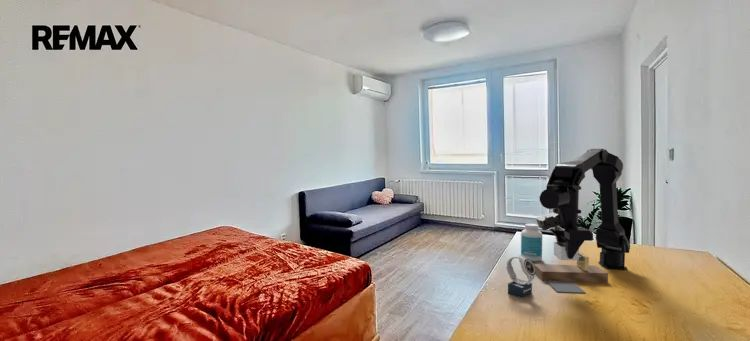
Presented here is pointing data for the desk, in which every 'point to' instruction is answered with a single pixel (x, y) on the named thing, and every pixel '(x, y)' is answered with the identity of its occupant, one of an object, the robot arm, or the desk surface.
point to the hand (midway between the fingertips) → (566, 255)
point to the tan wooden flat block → (583, 262)
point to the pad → (565, 287)
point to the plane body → (570, 273)
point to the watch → (518, 285)
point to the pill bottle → (531, 243)
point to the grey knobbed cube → (563, 251)
